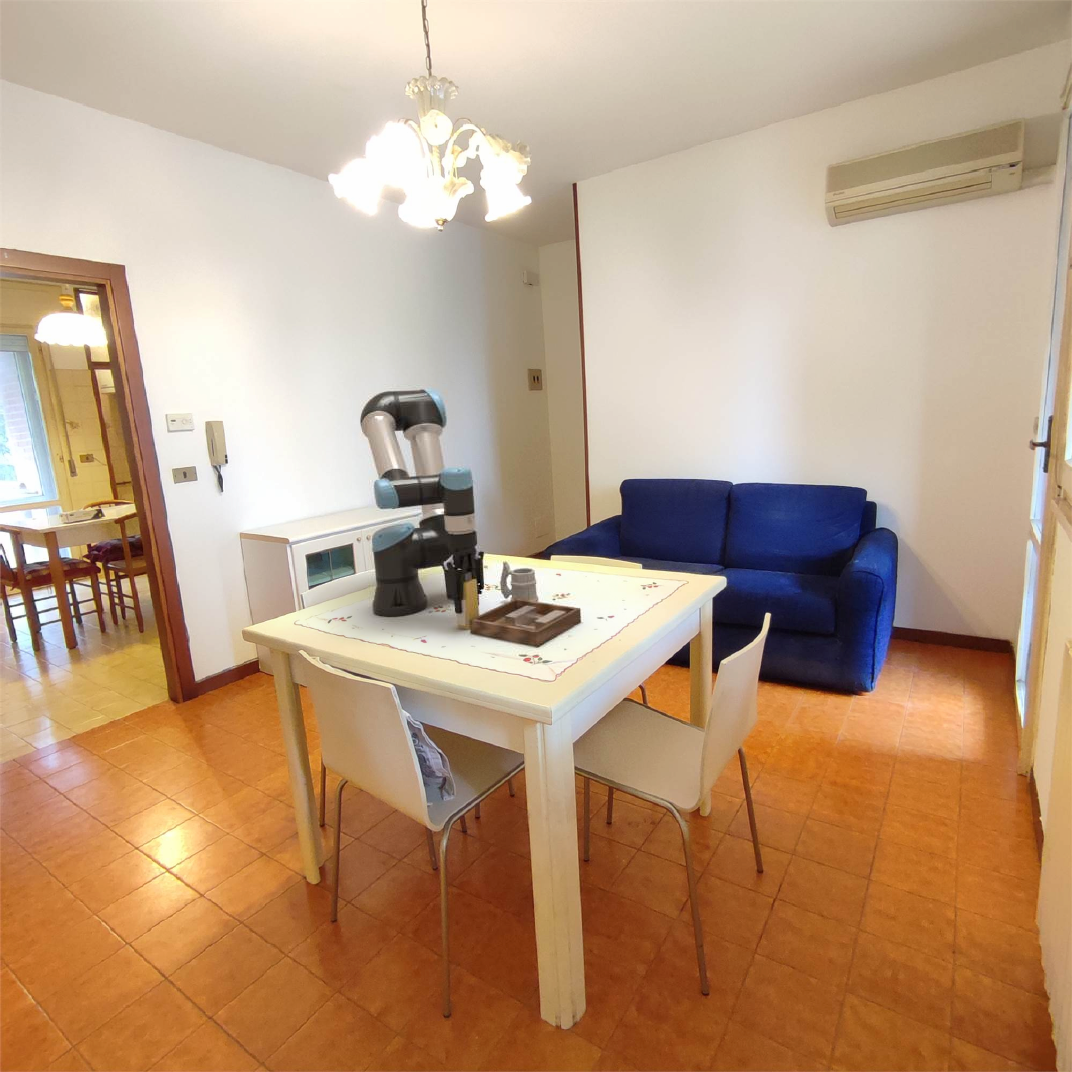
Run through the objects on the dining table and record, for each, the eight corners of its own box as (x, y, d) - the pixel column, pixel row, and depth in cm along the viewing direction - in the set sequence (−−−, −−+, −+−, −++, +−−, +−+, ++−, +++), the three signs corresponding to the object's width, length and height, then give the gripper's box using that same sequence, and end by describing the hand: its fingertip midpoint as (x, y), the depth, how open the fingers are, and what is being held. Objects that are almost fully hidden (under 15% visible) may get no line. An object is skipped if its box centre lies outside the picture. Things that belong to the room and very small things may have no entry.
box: (470, 633, 152) (469, 619, 151) (516, 611, 167) (516, 598, 166) (537, 647, 140) (536, 632, 140) (581, 621, 156) (580, 608, 155)
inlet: (505, 629, 152) (504, 615, 151) (527, 618, 159) (526, 605, 158) (545, 636, 145) (545, 622, 144) (566, 625, 152) (565, 611, 151)
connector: (457, 627, 157) (453, 573, 154) (468, 622, 160) (463, 569, 157) (469, 629, 155) (465, 575, 152) (480, 624, 158) (475, 571, 155)
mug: (528, 611, 166) (525, 567, 164) (493, 605, 173) (490, 563, 171) (544, 603, 172) (541, 561, 170) (510, 598, 179) (507, 557, 177)
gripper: (448, 538, 144) (456, 635, 148) (494, 525, 157) (501, 614, 162) (425, 536, 148) (433, 630, 152) (472, 524, 161) (478, 610, 166)
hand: (468, 621), depth 157 cm, fingers closed on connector, 4 cm apart
